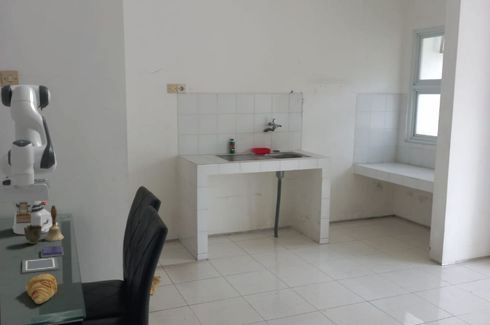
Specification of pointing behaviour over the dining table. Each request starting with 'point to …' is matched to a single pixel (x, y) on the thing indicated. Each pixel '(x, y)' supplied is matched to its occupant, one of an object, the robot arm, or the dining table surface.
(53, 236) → the hand bell
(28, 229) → the cup
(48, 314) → the dining table surface
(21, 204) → the stamp
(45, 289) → the croissant
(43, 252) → the ink pad
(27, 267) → the board
